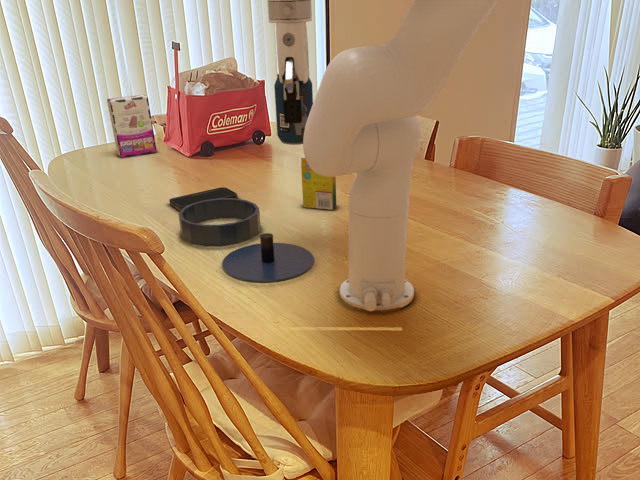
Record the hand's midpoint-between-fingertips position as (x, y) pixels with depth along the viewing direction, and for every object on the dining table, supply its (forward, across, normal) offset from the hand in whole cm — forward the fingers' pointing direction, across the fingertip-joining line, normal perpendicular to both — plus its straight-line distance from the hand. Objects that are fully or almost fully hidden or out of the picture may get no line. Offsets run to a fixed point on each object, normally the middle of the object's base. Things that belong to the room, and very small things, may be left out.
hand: (294, 117), depth 117 cm
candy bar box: (+23, +68, +54) cm, 90 cm away
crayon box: (+24, +20, -3) cm, 31 cm away
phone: (+24, +24, +25) cm, 42 cm away
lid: (+24, -12, +5) cm, 27 cm away
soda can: (+5, 0, 0) cm, 5 cm away
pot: (+24, +4, +17) cm, 30 cm away
